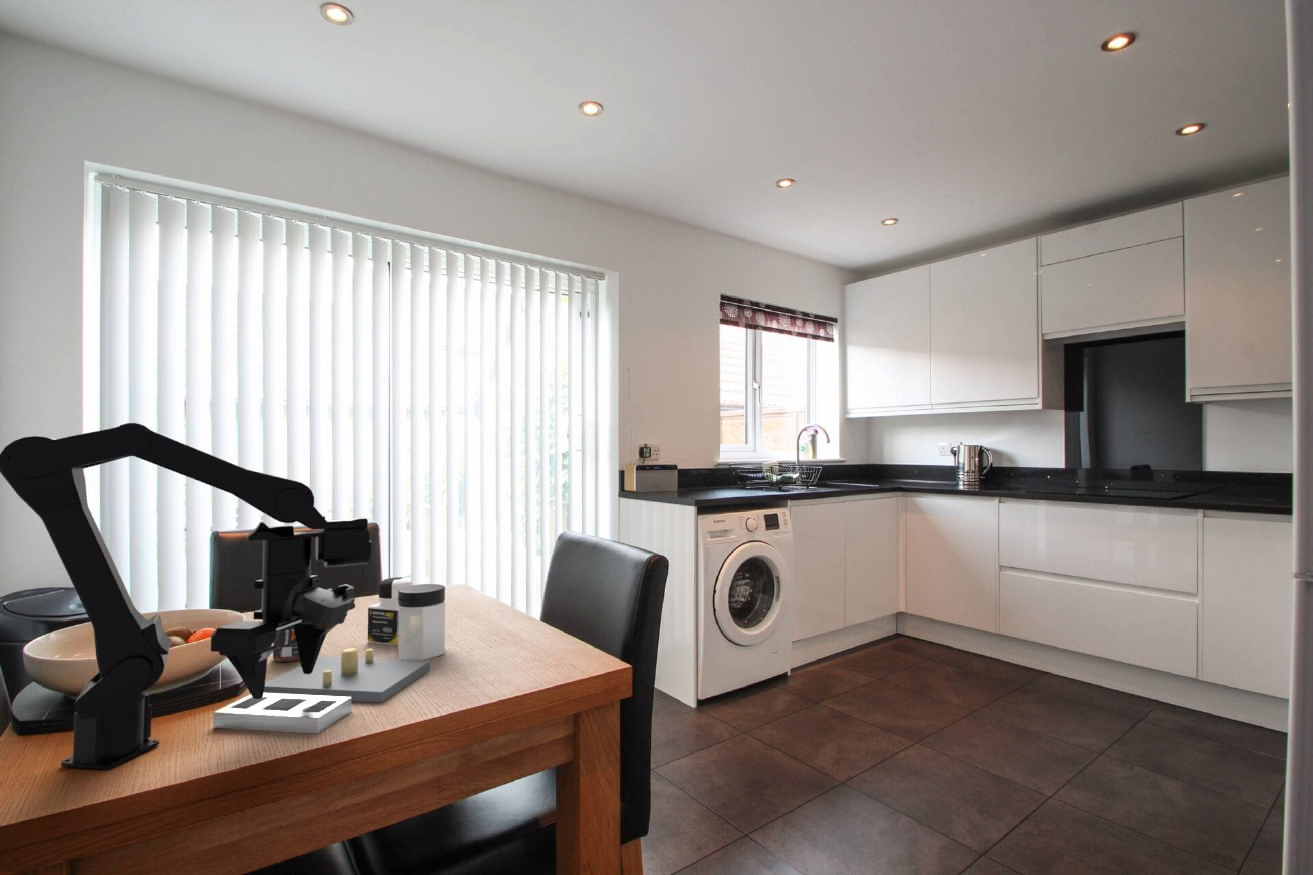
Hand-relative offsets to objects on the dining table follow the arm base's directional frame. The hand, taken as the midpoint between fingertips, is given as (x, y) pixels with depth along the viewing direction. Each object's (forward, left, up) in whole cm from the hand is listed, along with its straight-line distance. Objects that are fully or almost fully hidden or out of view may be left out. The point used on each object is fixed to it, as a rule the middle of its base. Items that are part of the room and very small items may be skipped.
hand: (284, 685), depth 82 cm
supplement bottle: (+24, +18, -5) cm, 30 cm away
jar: (+29, -4, -5) cm, 30 cm away
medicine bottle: (+37, +6, -5) cm, 38 cm away
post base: (+14, 0, -5) cm, 15 cm away
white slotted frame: (0, 0, -5) cm, 5 cm away
